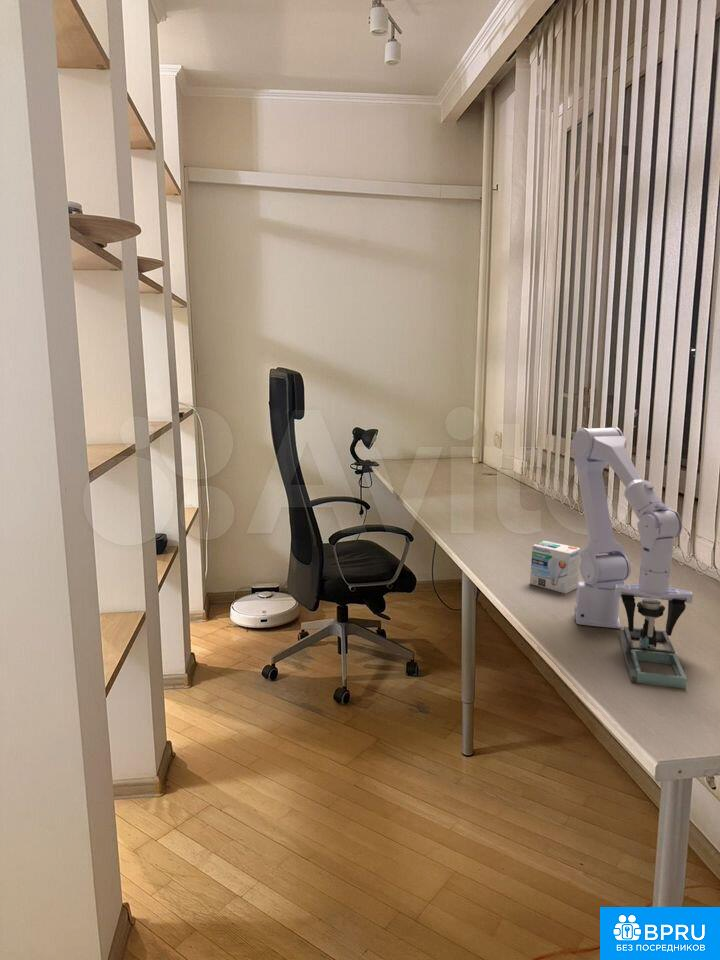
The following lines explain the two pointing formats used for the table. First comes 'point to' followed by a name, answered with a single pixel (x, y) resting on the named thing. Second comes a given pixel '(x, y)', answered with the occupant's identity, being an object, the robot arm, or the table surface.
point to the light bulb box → (555, 566)
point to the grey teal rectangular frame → (651, 660)
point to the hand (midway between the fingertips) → (649, 631)
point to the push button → (649, 621)
